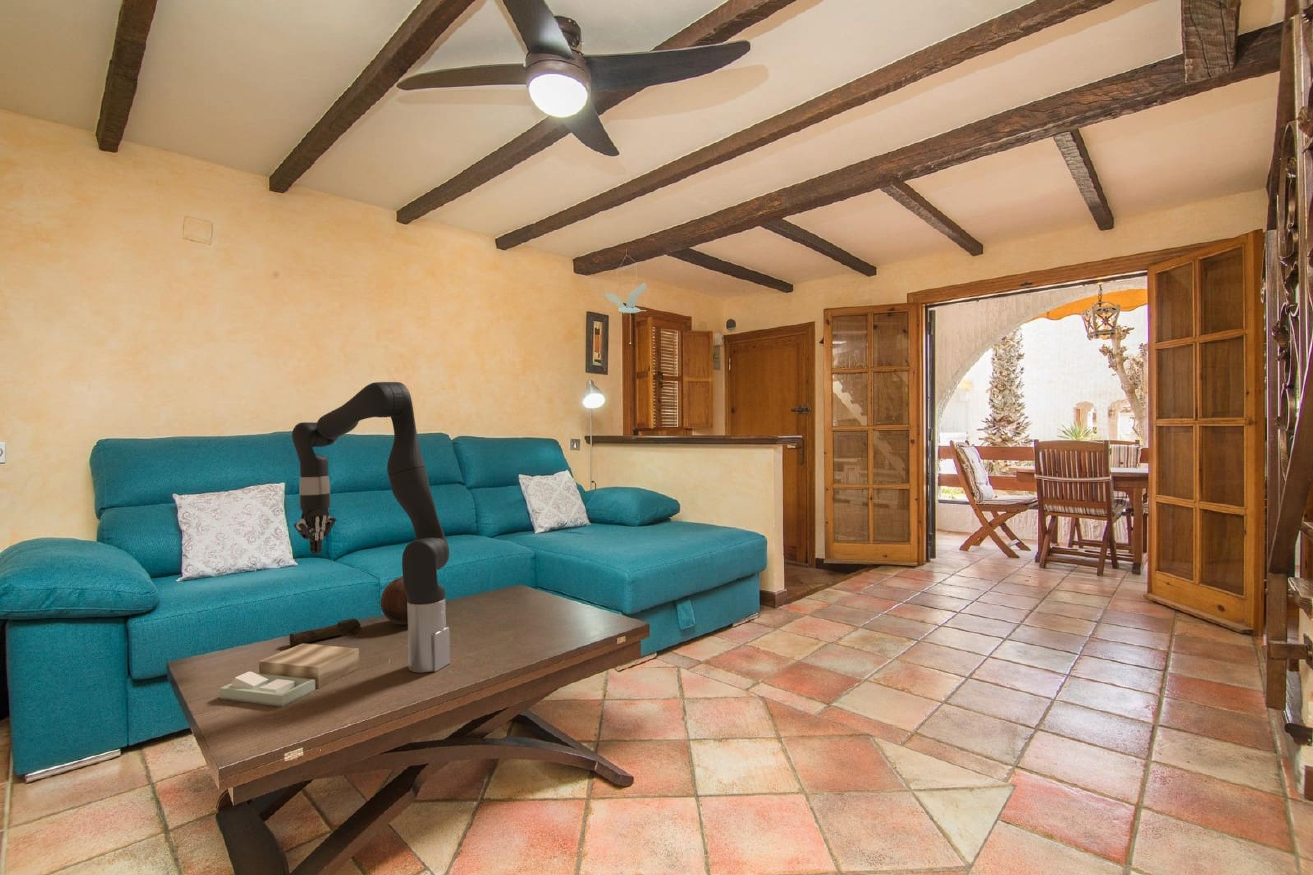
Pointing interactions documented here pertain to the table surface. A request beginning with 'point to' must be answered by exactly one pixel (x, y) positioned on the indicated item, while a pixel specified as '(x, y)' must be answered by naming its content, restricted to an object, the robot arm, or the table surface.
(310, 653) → the light wood flat block
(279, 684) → the tile near
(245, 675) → the tile far
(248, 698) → the tray
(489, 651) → the table surface
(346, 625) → the hand tool
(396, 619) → the wooden sphere
